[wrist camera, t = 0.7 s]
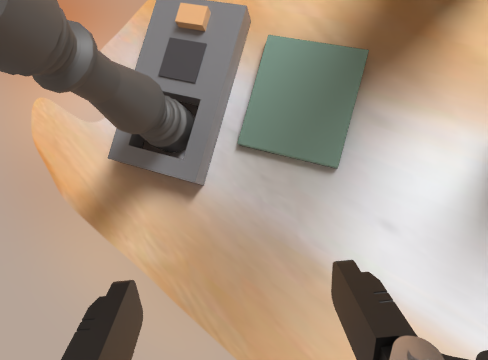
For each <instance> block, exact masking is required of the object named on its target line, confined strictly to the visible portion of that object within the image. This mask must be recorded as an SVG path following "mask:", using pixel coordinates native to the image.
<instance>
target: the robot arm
mask: <svg viewBox="0 0 488 360" xmlns="http://www.w3.org/2000/svg"><path fill="white" fill-rule="evenodd" d="M331 293H332V300H333V304H334V307H335V310H336V312H337V314H338V317H339V319H340V321H341V324H342V326H343V328H344V331H345V333H346V336H347V338H348V340H349V343H350V345H351V347H352V350H353V352H354V354H355V357H356V359H357V360H468V359H463V358H457V357H452V356H448V355H444V354H441V353H440V352H439V350H438V349H437V348H436V347H435V346H433V345H432V344H431V343H429V342H428V341H426V340H424V339H422V338H419V337H418V336H417V335H416V334H415V332H414V331H413V329H412V328H411V326H410V325H409V323H408V322H407V320H406V319H405V317H404V316H403V314H402V313H401V311H400V310H399V308H398V307H397V305H396V304H395V302H393V299H392V298H391V296H390V295H389V293H387V290H386V289H385V287H384V286H383V284H382V283H381V281H380V280H379V279H377V278H376V277H375V276H373V275H372V274H371V273H370V272H361V271H360V270H359V268H358V266H357V265H356V263H355V262H354V261H353V260H346V261H335V262H334V263H333V271H332V289H331ZM142 321H143V310H142V305H141V302H140V299H139V294H138V291H137V287H136V283H135V281H134V280H129V281H117V282H113V283H112V285H111V287H110V289H109V291H108V293H107V295H106V296H103V297H99V298H98V299H97V300H96V301H95V302H94V303H93V304H92V305H91V306H90V307H89V308H88V310H87V312H86V313H85V315H84V317H83V319H82V322H81V323H80V325H79V327H78V328H77V332H75V334H74V336H73V338H72V340H71V342H70V343H69V346H68V347H67V349H66V351H65V353H64V355H63V357H62V359H61V360H131V359H132V356H133V353H134V349H135V346H136V342H137V339H138V336H139V332H140V329H141V326H142ZM476 360H488V350H487V351H482V352H480V353H479V354H478V355H477V357H476Z"/></svg>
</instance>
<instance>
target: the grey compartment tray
mask: <svg viewBox="0 0 488 360" xmlns="http://www.w3.org/2000/svg"><path fill="white" fill-rule="evenodd" d="M250 24H251V19H250V16H249V12H248V9H247V6H245V5H237V4H229V3H222V2H214V1H207V0H156V3H155V7H154V10H153V13H152V16H151V19H150V23H149V26H148V29H147V32H146V36H145V39H144V42H143V45H142V49H141V52H140V55H139V58H138V61H137V65H136V68H135V71H138V72H140V73H143V74H145V75H148V76H149V77H151V78H152V79H153V80H154V81H155V82H156V83H158V84H159V85H160V87H161V89H162V92H163V94H164V95H165V96H169V97H170V98H172V99H176V100H177V101H179V102H184V103H189V104H193V105H198V106H199V107H198V111H197V114H196V117H195V121H194V124H193V128H192V131H191V134H190V138H189V141H188V145H187V148H186V151H185V155H184V158H183V159H179V158H175V157H171V156H167V155H164V154H160V153H156V152H152V151H149V150H145V149H142V146H143V143H144V138H143V137H142V136H141V135H139V134H130V133H126V132H123V131H121V130H118V129H116V132H115V136H114V139H113V142H112V145H111V149H110V152H109V155H108V159H112V160H115V161H118V162H122V163H126V164H129V165H133V166H136V167H140V168H143V169H147V170H150V171H154V172H158V173H161V174H165V175H168V176H172V177H175V178H179V179H182V180H186V181H190V182H193V183H197V184H200V185H204V182H205V179H206V175H207V172H208V169H209V165H210V162H211V158H212V155H213V151H214V148H215V144H216V141H217V138H218V134H219V131H220V127H221V124H222V120H223V117H224V113H225V110H226V106H227V103H228V100H229V96H230V93H231V89H232V86H233V82H234V79H235V75H236V72H237V68H238V65H239V62H240V58H241V55H242V51H243V48H244V44H245V41H246V37H247V34H248V30H249V27H250Z"/></svg>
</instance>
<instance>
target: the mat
mask: <svg viewBox="0 0 488 360" xmlns="http://www.w3.org/2000/svg"><path fill="white" fill-rule="evenodd" d="M368 52H369V50H365V49H359V48H352V47H346V46H339V45H333V44H326V43H319V42H313V41H306V40H300V39H293V38H286V37H280V36H273V35H268V38H267V41H266V45H265V48H264V52H263V55H262V59H261V62H260V66H259V69H258V73H257V76H256V80H255V83H254V87H253V90H252V94H251V97H250V101H249V104H248V108H247V111H246V115H245V118H244V122H243V125H242V129H241V132H240V136H239V139H238V144H239V145H241V146H245V147H249V148H254V149H258V150H262V151H266V152H270V153H274V154H278V155H282V156H287V157H291V158H295V159H299V160H303V161H307V162H311V163H316V164H320V165H324V166H328V167H332V168H336V169H337V168H338V165H339V162H340V158H341V154H342V150H343V146H344V143H345V139H346V135H347V131H348V128H349V124H350V120H351V116H352V112H353V109H354V105H355V101H356V97H357V93H358V90H359V86H360V82H361V78H362V75H363V71H364V67H365V63H366V59H367V56H368Z"/></svg>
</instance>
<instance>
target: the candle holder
mask: <svg viewBox="0 0 488 360" xmlns="http://www.w3.org/2000/svg"><path fill="white" fill-rule="evenodd" d="M0 71H1V72H5V73H8V74H12V75H15V74H19V75H23V76H31V75H32V76H33V78H34V80H35V81H36V82H37V83H38V84H39V85H40V86H41V87H43V88H44V89H47V90H51V91H54V92H57V93H63V92H69V91H71V92H73V93H75V94H77V95H78V96H80V97H82V98H84V99H86V100H88V101H89V102H90V103H91V104H92V105H94V106H95V107H96V108H97V109H98V110H99V111H100V112H101V113H102V114H103V115H104V116H105V117H106V118H107V119H108V120H109V121H110V122H111V123H112V124H113V125H114V126H115V127H116V128H117V129H118V130H121V131H123V132H126V133H130V134H139V135H141V136H142V137H143V138H144V139H145V140H146V141H147V142H148V143H149V144H151V145H153V146H155V147H157V148H159V149H162V150H164V151H167V152H170V153H173V152H180V151H182V150H184V149H185V148H187V145H188V141H189V138H190V134H191V131H192V128H193V124H194V121H195V118H194V116H193V114H192V113H191V112H190V111H188V110H187V109H186V108H185V107H184V106H183V105H182V104H180V103H179V102H178V101H177V100H176V99H172V98H170V97H169V96H165V95H164V94H163V92H162V89H161V87H160V85H159V84H158V83H156V82H155V81H154V80H153V79H152V78H151V77H149V76H148V75H145V74H143V73H140V72H138V71H135V70H133V69H130V68H128V67H125V66H123V65H120V64H118V63H115V62H113V61H111V60H110V59H109V58H107V57H106V56H105V55H103V54H102V53H101V52H100V51H98V50H97V45H96V43H95V41H94V38H93V36H92V34H91V33H90V32H89V31H88V30H87V29H86V28H84V27H83V26H82V25H81V24H80V23H78V22H74V21H69V20H67V19H66V17H65V14H64V12H63V10H62V9H61V8H60V7H59V4H58V2H57V0H0Z"/></svg>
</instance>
